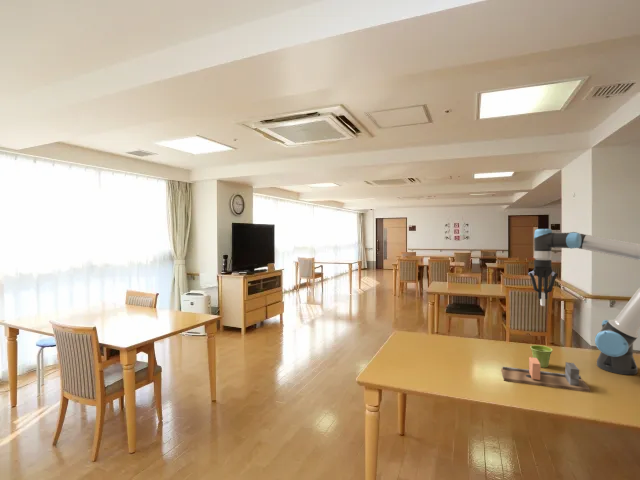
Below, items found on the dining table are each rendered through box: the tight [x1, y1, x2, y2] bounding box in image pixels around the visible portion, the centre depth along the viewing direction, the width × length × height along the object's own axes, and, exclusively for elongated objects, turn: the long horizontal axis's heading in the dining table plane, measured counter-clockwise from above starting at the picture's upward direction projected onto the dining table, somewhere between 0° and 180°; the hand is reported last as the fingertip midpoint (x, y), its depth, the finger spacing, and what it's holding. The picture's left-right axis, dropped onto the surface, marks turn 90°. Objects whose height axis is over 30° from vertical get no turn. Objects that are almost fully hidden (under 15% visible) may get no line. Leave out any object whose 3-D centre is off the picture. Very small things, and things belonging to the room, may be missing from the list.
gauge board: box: [500, 361, 591, 393], centre depth 161 cm, size 32×12×8 cm, turn 69°
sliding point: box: [528, 356, 541, 380], centre depth 162 cm, size 3×8×7 cm, turn 159°
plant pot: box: [530, 344, 553, 368], centre depth 179 cm, size 9×9×9 cm
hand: (542, 305), depth 184 cm, fingers closed
